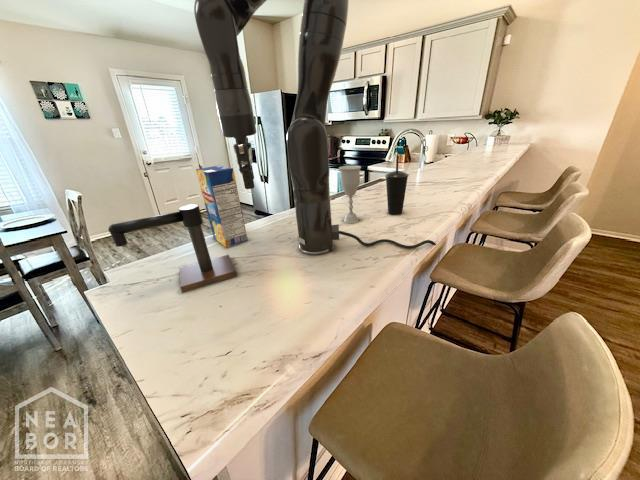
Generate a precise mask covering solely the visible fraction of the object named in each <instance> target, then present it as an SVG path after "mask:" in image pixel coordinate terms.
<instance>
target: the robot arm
mask: <svg viewBox="0 0 640 480" xmlns="http://www.w3.org/2000/svg"><path fill="white" fill-rule="evenodd" d="M267 1H268V0H194V5H193V14H194V19H195V24H196V28H197V31H198V34H199V38H200V41H201V44H202V47H203V50H204V53H205V56H206V59H207V62H208V66H209V72H210V73H209V74H210V76H211V77H210V78H211V82H212V87H213V89H214V96H215V104H216V109H217V115H218V117H219V122H220V128H221V132H222V136H223V137H224V138H227V139H228V138H230V139H231V138H233V139H234V141H235V143H234V144H233V151H234V154H235V158H236V163H237V165H238V171H239V173H240V174H241V176H242V180H243V186H244V189H245V190H253V189H254V188H255V181H254V180H255V175H254V169H253V162H254V161H253V157H254V156H253V147H252V142H249V138H248V136H249V137H250V136H254V135H256V134H257V127H256V121H255V116H254V110H253V109H254V108H253V103H252V99H251V98H252V97H251V95H250V92H249V88H248V87H249V86H248V82H247V76H246V70H245V66H244V63H243V60H242V58H241V54H240V48H239V47H240V46H239V42H238V36H239V35H240V34H241V32H242V31H243V30H244V29H245V27H246V26H247V24H248V23H249V22H250V21H251V19H252V18H253V16H254V15H255V13H256V12H257V10H259V9H260V7H262V6H263V5H264V4H265V3H266V2H267ZM348 16H349V0H304V1H303V6H302V12H301V20H300V29H299V36H298V52H297V92H296V99H295V104H294V109H293V114H292V118H291V122H290V126H288V129H287V133H286V148H287V155H288V164H289V172H290V178H291V185H292V190H293V192H292V193H293V201H294V210H295V218H296V226H297V234H298V236H297V237H296V238H297V242H298V244H299V246H298V248H299V251H300V252H301V253H303V254H306V255H311V256H316V255H317V256H318V255H323V254H327V253H329V252H333V251H334V241H340V235H343V236H346V237H349V238H352V239H355V241H357V242H358V243H359V245H361V246H364V247H372V246H375V245H378V244H381V243H388V244H392V245H394V246H396V247H399V248H402V249H406V250H407V249H408V250H411V249H417V248H419V247H422V246H424V245H426V244H430V245H432V246H437V243H436V242H435V241H434V240H431V239H426V240H422V241H420V242H418V243H416V244H413V245H406V244H402V243H400V242H397V241H395V240H392V239H387V238H382V239H377V240H375V241H372V242H364V241H363V240H362V239H361V238H360V237H359V236H356V235H355V234H353V233H349V232H347V231H342V230H340V225H339V224H333V221H332V220H333V219H332V208H331V193H330V158H329V157H330V156H329V153H330V152H329V140H328V139H329V138H328V137H329V136H328V132H327V130H326V117H327V108H328V101H329V96H330V92H331V89H332V86H333V83H334V80H335V77H336V73H337V70H338V68H339V67H338V66H339V63H340V59H341V55H342V51H343V46H344V40H345V35H346V29H347V23H348Z"/></svg>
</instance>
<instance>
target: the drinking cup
mask: <svg viewBox="0 0 640 480" xmlns="http://www.w3.org/2000/svg"><path fill="white" fill-rule="evenodd" d="M399 159H400V154H397V155H396V160H395V161H396V162H395V170H393V171H389V172H388V173H386V174H385V175H384V177H385V182H386V201H387V214H388V215H390V216H400V215H402V214H403V210H404V204H405V203H404V202H405V198H406V197H405V196H406V190H407V183H408V178H409V175H410V174H408V173H406V172H404V171H401V170H399Z"/></svg>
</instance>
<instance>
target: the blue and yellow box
mask: <svg viewBox="0 0 640 480" xmlns="http://www.w3.org/2000/svg"><path fill="white" fill-rule="evenodd" d="M195 172H196V176H197V180H198V184H199V187H200V191H201V194H202V199H203V203H204V206H205V210H206V214H207V217H208V222H209V226H210V229H211V232H212V236H213V239H215V241H216V242H217V243H220V244H221V245H222V246H224V247H225V248H231V247H233V246H237V245H239V244H242V243H245V242H248V241H249V238H248V235H247V229H246V224H245V220H244V215H243V209H242V206H241V201H240V195H239V191H238V186H237V181H236V177H235V171H234V168H233V167H229V166H223V165H214V166H208V167H202V168H201V167H200V168H196V169H195ZM215 234H216V235H215Z"/></svg>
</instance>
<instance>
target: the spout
mask: <svg viewBox="0 0 640 480" xmlns="http://www.w3.org/2000/svg"><path fill="white" fill-rule="evenodd" d="M180 222H181V223H182V224H183V227H184V228H188V227H195V226H199V225H201V226H202V225H203V223H204V220H203V216H202V213H201V208H200V205H199V204H187V205H183V206H181V207H179V208H178V211H174V212H169V213H165V214H159V215H154V216H149V217H143V218H138V219H133V220H128V221H121V222H117V223H112V224H110V225H109V226H108V228H107V229H108V230H107V231H108V232H109V234H110V236H111V238H112V240H113V243H114V245H115V246H116V247H117V248H120V247H124V246H127V245H128V240H127V238H126V235H125V234H128V233H133V232H138V231H143V230H148V229H152V228H158V227H162V226H166V225H171V224H177V223H180Z"/></svg>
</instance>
